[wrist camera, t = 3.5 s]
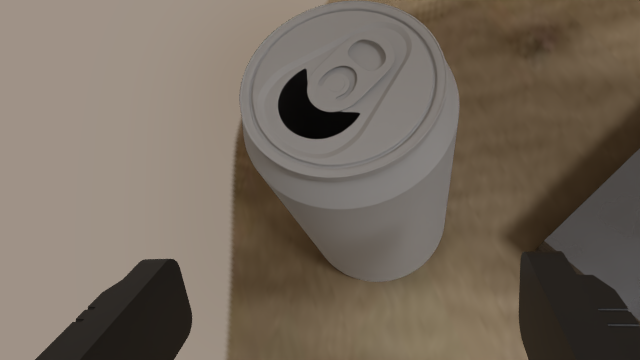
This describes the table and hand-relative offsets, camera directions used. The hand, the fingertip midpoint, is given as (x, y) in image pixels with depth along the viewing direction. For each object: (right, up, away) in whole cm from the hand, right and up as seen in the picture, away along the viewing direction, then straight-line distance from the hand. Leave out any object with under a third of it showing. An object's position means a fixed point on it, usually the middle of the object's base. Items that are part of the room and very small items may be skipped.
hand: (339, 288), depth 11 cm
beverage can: (+2, 0, +12) cm, 13 cm away
